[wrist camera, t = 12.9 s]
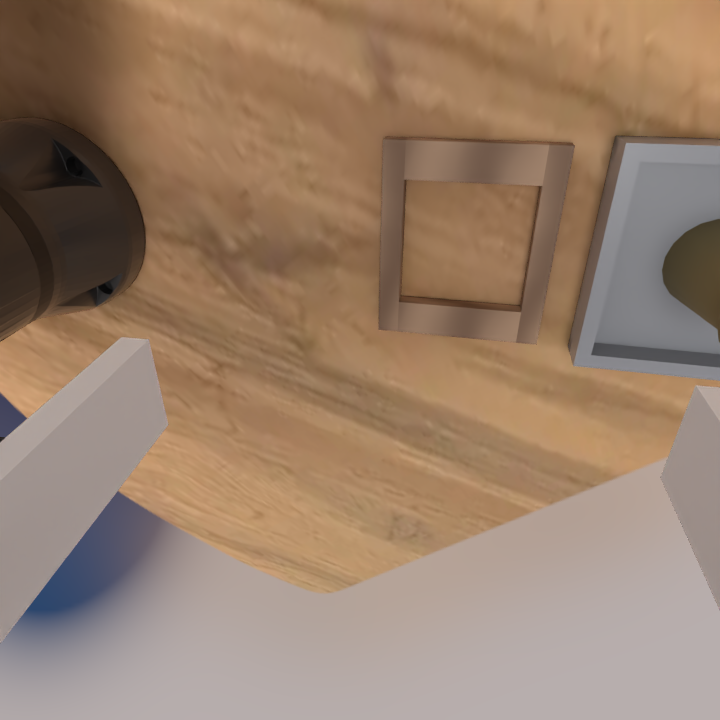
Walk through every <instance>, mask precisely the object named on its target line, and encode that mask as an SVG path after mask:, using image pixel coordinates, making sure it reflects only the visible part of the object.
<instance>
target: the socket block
mask: <svg viewBox="0 0 720 720" xmlns="http://www.w3.org/2000/svg"><path fill="white" fill-rule="evenodd" d="M574 147H575V145H574V144H573V143H563V142H533V141H503V140H472V139H442V138H412V137H385V138H384V139H383V167H382V210H381V252H380V295H379V330H389V331H399V332H410V333H420V334H431V335H441V336H452V337H462V338H473V339H483V340H494V341H504V342H515V343H525V344H536V345H537V339H538V334H539V329H540V324H541V319H542V313H543V308H544V303H545V298H546V293H547V287H548V282H549V277H550V272H551V267H552V261H553V256H554V251H555V246H556V241H557V235H558V230H559V225H560V220H561V215H562V209H563V204H564V199H565V194H566V188H567V183H568V178H569V173H570V168H571V162H572V157H573V152H574ZM406 180H423V181H445V182H466V183H488V184H509V185H531V186H540V191H539V196H538V202H537V208H536V214H535V220H534V226H533V232H532V238H531V244H530V250H529V256H528V262H527V268H526V274H525V280H524V286H523V292H522V298H521V304H520V306H517V305H505V304H493V303H481V302H469V301H457V300H445V299H433V298H421V297H409V296H401V284H402V262H403V240H404V218H405V196H406Z"/></svg>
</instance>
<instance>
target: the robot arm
mask: <svg viewBox="0 0 720 720" xmlns="http://www.w3.org/2000/svg"><path fill="white" fill-rule="evenodd" d="M144 249H145V236H144V227H143V222H142V218H141V214H140V211H139V208H138V205H137V202H136V200H135V198H134V195H133V193H132V191H131V189H130V187H129V186H128V184H127V182H126V180H125V179H124V177H123V176H122V174H121V173H120V172H119V170H118V169H117V167H116V166H115V165H114V164H113V163H112V161H111V160H110V159H109V158H108V157H107V156H106V155H105V154H104V153H103V152H102V151H101V150H100V149H99V148H98V147H97V146H96V145H94V144H93V143H92V142H91V141H89V140H88V139H87V138H85V137H84V136H82V135H81V134H79V133H78V132H76V131H74V130H73V129H71V128H69V127H67V126H64V125H62V124H59V123H57V122H54V121H50V120H46V119H41V118H18V119H11V120H5V121H0V342H1V341H2V340H4V339H5V338H7V337H9V336H10V335H12V334H13V333H15V332H16V331H18V330H20V329H21V328H23V327H24V326H26V325H27V324H29V323H31V322H32V321H34V320H36V319H38V318H44V317H50V316H56V315H62V314H68V313H74V312H80V311H86V310H90V309H93V308H96V307H99V306H101V305H103V304H105V303H107V302H108V301H110V300H111V299H113V298H114V297H116V296H117V295H119V294H120V293H122V292H123V291H124V290H126V289H127V288H128V287H129V286H130V285H131V284H132V282H133V281H134V279H135V278H136V276H137V274H138V272H139V270H140V268H141V265H142V261H143V257H144ZM167 426H168V421H167V417H166V412H165V408H164V404H163V399H162V395H161V390H160V386H159V382H158V377H157V373H156V369H155V364H154V360H153V356H152V351H151V347H150V342H149V339H138V338H126V337H121V338H120V339H119V340H117V341H116V342H115V343H114V344H113V345H112V346H111V347H109V348H108V349H107V350H106V351H105V352H104V353H102V354H101V355H100V356H99V357H98V358H97V359H96V360H94V361H93V362H92V363H91V364H90V365H89V366H88V367H86V368H85V369H84V370H83V371H82V372H81V373H79V374H78V375H77V376H76V377H75V378H74V379H73V380H71V381H70V382H69V383H68V384H67V385H66V386H65V387H63V388H62V389H61V390H60V391H59V392H58V393H56V394H55V395H54V396H53V397H52V398H51V399H50V400H48V401H47V402H46V403H45V404H44V405H43V406H42V407H40V408H39V409H38V410H37V411H36V412H35V413H33V414H32V415H31V416H30V417H29V418H28V419H27V420H25V421H24V422H23V423H22V424H21V425H20V426H19V427H17V428H16V429H15V430H14V431H13V432H12V433H11V434H9V435H8V436H7V437H6V438H5V437H0V643H1V642H2V641H3V640H4V638H5V637H6V636H7V634H8V633H9V632H10V630H11V629H12V628H13V626H14V625H15V624H16V623H17V621H18V620H19V619H20V617H21V616H22V615H23V613H24V612H25V611H26V610H27V608H28V607H29V606H30V604H31V603H32V602H33V600H34V599H35V598H36V597H37V595H38V594H39V593H40V591H41V590H42V589H43V587H44V586H45V585H46V583H47V582H48V581H49V580H50V578H51V577H52V576H53V574H54V573H55V572H56V570H57V569H58V568H59V566H60V565H61V564H62V563H63V561H64V560H65V559H66V557H67V556H68V555H69V554H70V552H71V551H72V550H73V548H74V547H75V546H76V544H77V543H78V542H79V540H80V539H81V538H82V537H83V535H84V534H85V532H86V531H87V530H88V529H89V527H90V526H91V525H92V523H93V522H94V521H95V520H96V518H97V517H98V516H99V514H100V513H101V512H102V510H103V509H104V508H105V507H106V505H107V504H108V503H109V501H110V500H111V499H112V497H113V496H114V495H115V494H116V492H117V491H118V490H119V488H120V487H121V486H122V484H123V483H124V482H125V480H126V479H127V478H128V477H129V475H130V474H131V473H132V471H133V470H134V469H135V467H136V466H137V465H138V464H139V462H140V461H141V460H142V458H143V457H144V456H145V454H146V453H147V452H148V451H149V449H150V448H151V447H152V445H153V444H154V443H155V441H156V440H157V439H158V437H159V436H160V435H161V434H162V432H163V431H164V430H165V428H166V427H167ZM661 480H662V482H663V485H664V487H665V489H666V491H667V493H668V496H669V498H670V500H671V502H672V504H673V507H674V509H675V511H676V514H677V516H678V518H679V520H680V523H681V525H682V527H683V529H684V531H685V534H686V536H687V538H688V540H689V542H690V545H691V547H692V549H693V552H694V554H695V556H696V558H697V560H698V563H699V565H700V567H701V569H702V572H703V574H704V576H705V578H706V581H707V583H708V585H709V587H710V589H711V591H712V594H713V596H714V598H715V601H716V603H717V605H718V607H719V610H720V387H708V386H695V388H694V391H693V394H692V396H691V399H690V401H689V404H688V407H687V409H686V412H685V415H684V417H683V420H682V422H681V425H680V428H679V430H678V433H677V435H676V438H675V441H674V443H673V446H672V448H671V451H670V454H669V456H668V459H667V462H666V464H665V467H664V470H663V472H662V475H661Z"/></svg>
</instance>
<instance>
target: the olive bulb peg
mask: <svg viewBox="0 0 720 720" xmlns="http://www.w3.org/2000/svg"><path fill="white" fill-rule="evenodd" d="M662 275H663V282H664V285H665V286H666V288H667V290H668V291H669V293H670V294H671V295H672V296H673V297H675V298H676V299H677V300H679V301H680V302H681V303H683V304H684V305H685V306H687V307H688V308H689V309H691V310H692V311H693V312H695V313H696V314H697V315H699V316H700V317H701V318H703V319H704V320H705V321H707V322H708V323H709V324H711V325H712V326H713V327H715V328H716V329H717V330H718V339H719V343H720V219H716V220H713V221H709V222H705V223H701V224H699V225H697V226H696V227H694V228H692V229H690V230H688V231H687V232H685V233H684V234H683V235H682V236H681V237H680V238H679V239H678V240H677V241H675V242H674V243H673V245H672V246H671V248H670V250H669V251H668V253H667V255H666V256H665V260H664V264H663V268H662Z"/></svg>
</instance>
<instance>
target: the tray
mask: <svg viewBox="0 0 720 720" xmlns="http://www.w3.org/2000/svg"><path fill="white" fill-rule="evenodd" d="M716 219H720V139H710V138H677V137H644V136H615V141H614V145H613V149H612V154H611V158H610V163H609V167H608V172H607V176H606V180H605V185H604V189H603V194H602V198H601V203H600V207H599V211H598V216H597V220H596V225H595V229H594V233H593V238H592V242H591V247H590V251H589V256H588V260H587V264H586V269H585V273H584V278H583V282H582V287H581V291H580V295H579V300H578V304H577V309H576V313H575V317H574V322H573V326H572V331H571V335H570V340H569V344H568V348H569V352H570V355H571V359H572V363H573V366H580V367H590V368H600V369H610V370H620V371H630V372H640V373H650V374H660V375H670V376H680V377H689V378H699V379H709V380H719V381H720V343H719V339H718V330H717V329H716V328H715V327H713V326H712V325H711V324H709V323H708V322H707V321H705V320H704V319H703V318H701V317H700V316H699V315H697V314H696V313H695V312H693V311H692V310H691V309H689V308H688V307H687V306H685V305H684V304H683V303H681V302H680V301H679V300H677V299H676V298H675V297H673V296H672V295H671V294H670V293H669V291H668V290H667V288H666V286H665V285H664V282H663V275H662V268H663V264H664V260H665V256H666V255H667V253H668V251H669V250H670V248H671V246H672V245H673V243H674V242H675V241H677V240H678V239H679V238H680V237H681V236H682V235H683V234H684V233H685V232H687V231H688V230H690V229H692V228H694V227H696V226H697V225H699V224H701V223H705V222H709V221H713V220H716Z"/></svg>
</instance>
